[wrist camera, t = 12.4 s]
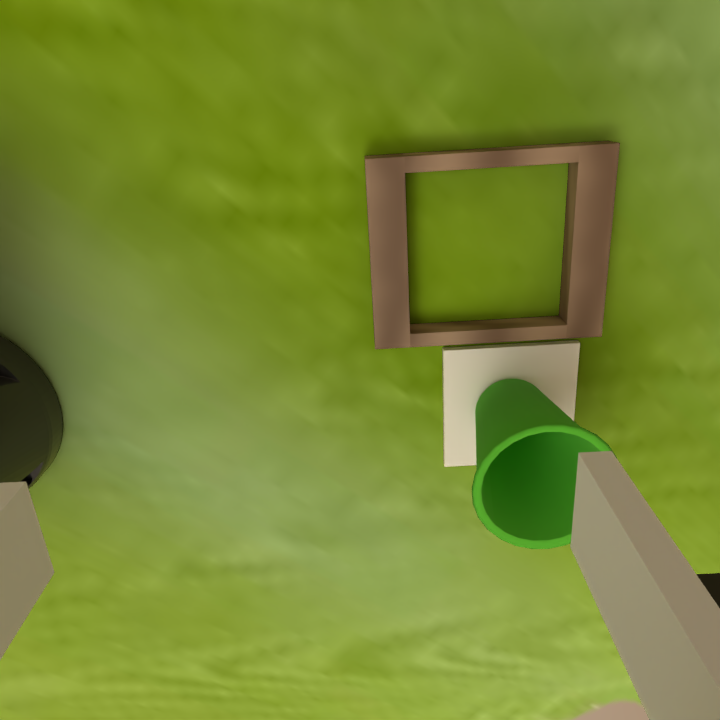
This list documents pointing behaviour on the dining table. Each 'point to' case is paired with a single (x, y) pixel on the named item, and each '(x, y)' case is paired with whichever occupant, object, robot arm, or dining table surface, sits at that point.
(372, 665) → the dining table surface
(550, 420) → the cup
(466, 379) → the coaster
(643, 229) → the dining table surface
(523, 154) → the board
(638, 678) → the robot arm
